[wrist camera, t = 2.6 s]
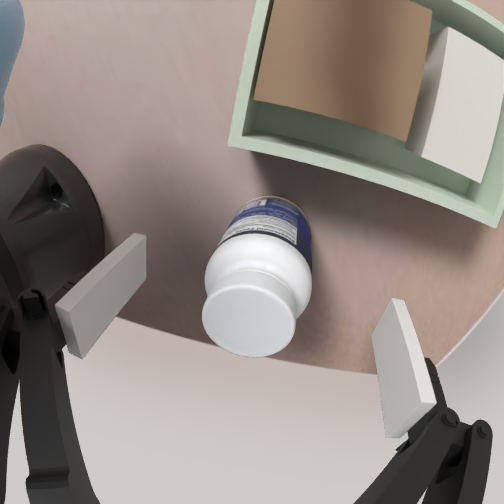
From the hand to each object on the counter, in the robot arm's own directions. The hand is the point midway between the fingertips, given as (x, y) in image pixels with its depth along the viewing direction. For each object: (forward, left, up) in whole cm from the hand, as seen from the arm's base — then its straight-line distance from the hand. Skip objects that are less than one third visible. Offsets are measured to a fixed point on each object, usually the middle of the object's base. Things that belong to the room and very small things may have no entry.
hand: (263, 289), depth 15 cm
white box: (+9, +12, -6) cm, 16 cm away
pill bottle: (0, 0, -7) cm, 7 cm away
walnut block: (+1, +12, -6) cm, 14 cm away
